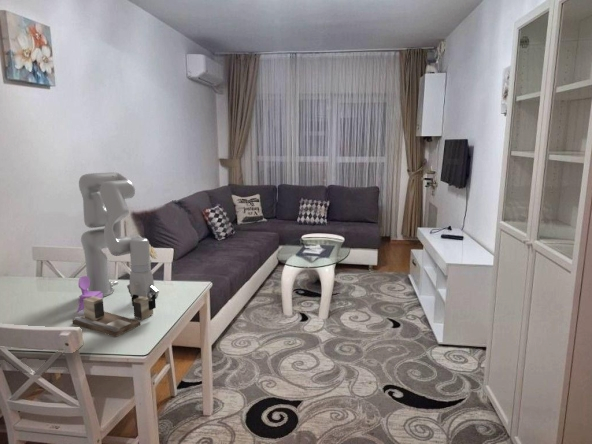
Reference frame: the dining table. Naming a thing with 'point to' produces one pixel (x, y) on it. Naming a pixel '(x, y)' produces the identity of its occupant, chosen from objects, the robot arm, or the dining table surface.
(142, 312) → the wooden block
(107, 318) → the rail board
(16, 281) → the dining table surface
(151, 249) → the flower in vase
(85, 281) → the toy chair
